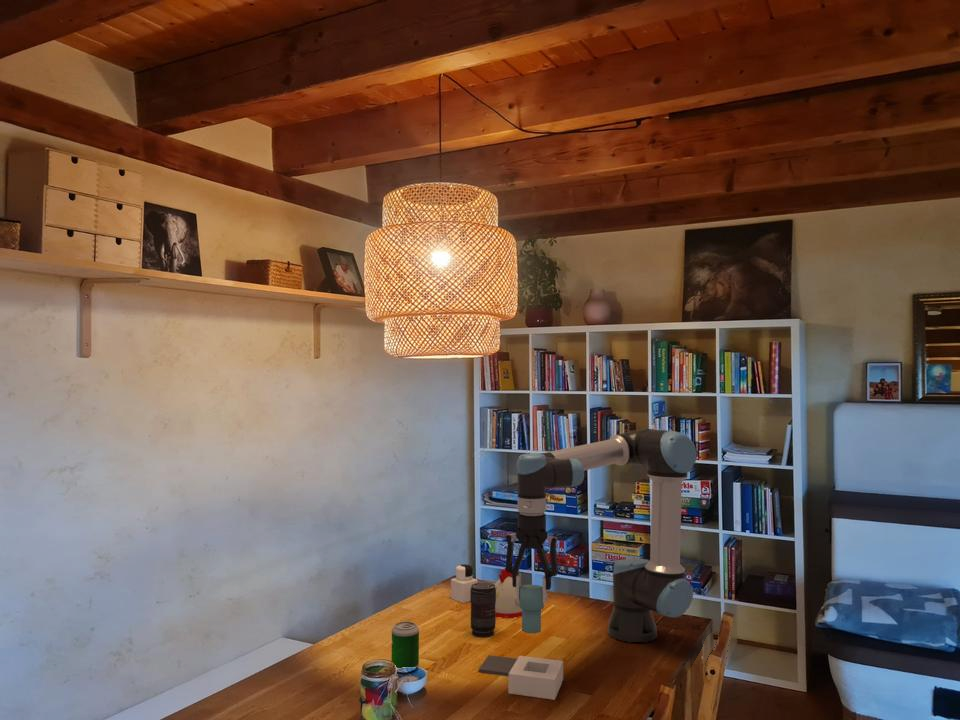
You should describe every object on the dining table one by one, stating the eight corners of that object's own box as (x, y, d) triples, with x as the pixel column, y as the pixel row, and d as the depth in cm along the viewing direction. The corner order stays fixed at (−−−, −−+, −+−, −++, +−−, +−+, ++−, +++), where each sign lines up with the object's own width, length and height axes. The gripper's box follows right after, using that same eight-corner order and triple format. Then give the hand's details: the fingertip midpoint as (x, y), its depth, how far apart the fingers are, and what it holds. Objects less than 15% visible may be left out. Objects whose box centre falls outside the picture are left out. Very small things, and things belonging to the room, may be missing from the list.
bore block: (563, 679, 188) (563, 661, 188) (554, 699, 176) (554, 679, 176) (519, 674, 191) (519, 655, 191) (508, 693, 180) (508, 673, 180)
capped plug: (545, 627, 187) (546, 585, 188) (540, 635, 181) (541, 591, 182) (522, 625, 189) (522, 583, 190) (516, 632, 183) (517, 589, 184)
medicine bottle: (465, 594, 260) (465, 562, 260) (478, 599, 254) (478, 566, 254) (450, 598, 255) (450, 565, 255) (462, 603, 250) (462, 569, 250)
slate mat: (522, 662, 199) (522, 659, 199) (514, 676, 190) (514, 673, 190) (488, 657, 202) (488, 655, 202) (478, 672, 193) (478, 669, 193)
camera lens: (496, 629, 225) (497, 581, 225) (494, 638, 217) (495, 589, 217) (471, 628, 226) (471, 581, 226) (468, 637, 218) (469, 588, 218)
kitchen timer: (478, 612, 241) (478, 568, 241) (501, 602, 252) (502, 560, 252) (512, 621, 232) (512, 575, 232) (534, 610, 243) (534, 566, 243)
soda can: (424, 668, 195) (424, 624, 195) (404, 677, 189) (404, 632, 189) (406, 661, 200) (406, 618, 200) (385, 669, 194) (386, 625, 194)
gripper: (492, 513, 185) (492, 601, 185) (565, 517, 180) (565, 608, 180) (499, 508, 193) (499, 593, 192) (570, 512, 187) (570, 599, 187)
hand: (531, 600), depth 186 cm, fingers closed on capped plug, 6 cm apart
